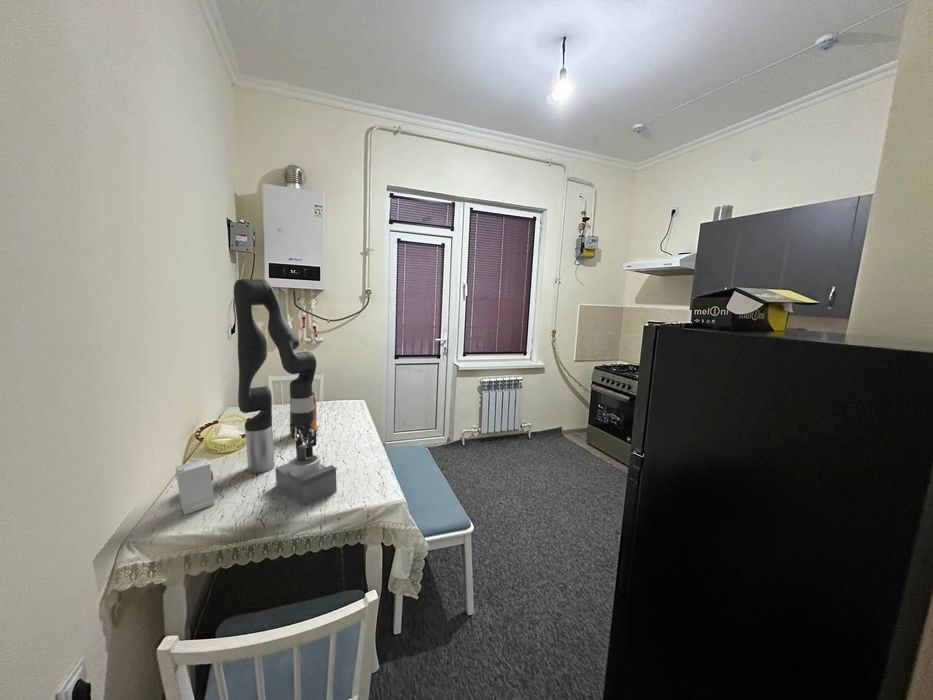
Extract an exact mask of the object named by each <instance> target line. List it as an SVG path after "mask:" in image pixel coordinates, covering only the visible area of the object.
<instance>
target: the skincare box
mask: <svg viewBox="0 0 933 700" xmlns="http://www.w3.org/2000/svg"><path fill="white" fill-rule="evenodd" d="M175 471H176V479H177V484H178V492H179V498H180V505H181V509H182V511H183V514H184V516H186V515H189V514H192V513H195V512H197V511H199V510H202V509H206V508H208V507H211V506H214V505H216V502H215V496H214V495H215V494H214V486H213V481H212V477H211V471H212V470H211V463H210V461H208V459H207V458H206V457H204V458H202V459H198V460H194V461H190V462H187V463H184V464H180V465H176V466H175Z"/></svg>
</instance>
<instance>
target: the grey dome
mask: <svg viewBox="0 0 933 700" xmlns="http://www.w3.org/2000/svg"><path fill="white" fill-rule="evenodd" d="M295 451H296V456H297V461H299V462H304V461H308V460H310V459H312V457H309V458H307V457H306V452H305V444H303V445H300V446H297V448H296V447H295Z"/></svg>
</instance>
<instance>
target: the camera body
mask: <svg viewBox="0 0 933 700" xmlns="http://www.w3.org/2000/svg"><path fill="white" fill-rule="evenodd" d="M275 482H276V483H275V484H276V486H277V487H278V488H279V489H280V490H281V491H283V492H284V493H286V494H287V495H288V496H289V497H291V498H292V500H295V501H296V502H298V504H300V505H301V506H302V507H305V506H309V505H310V504H312V503H314V502H316V501H319V500H320V499H323V498H325V497H327V496H329V495H331V494H334V493H336V492H337V467H335V466H334V465H332V464H330V465H329V466H325V465H324V464H322V463H321V456H320V455H319V454H317V453H313V456H312V459H310V460H308V461H304V462H299V461H297V455H296V456H294V457H292V458H291V459H290V460H289V461H288V462H287V463H284V464H282V465H280V466H277V467H275Z"/></svg>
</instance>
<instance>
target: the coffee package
mask: <svg viewBox="0 0 933 700" xmlns="http://www.w3.org/2000/svg"><path fill="white" fill-rule="evenodd" d="M312 392H313V400H314V421H313V422H312V423H311V428H312V430H316V433H317V432H318V424H317V414H318V413H317V403H316V397H315V391H312ZM289 433H290V438H291V439H292V433H291V415H290V414H289ZM294 434H295V432H294Z"/></svg>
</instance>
